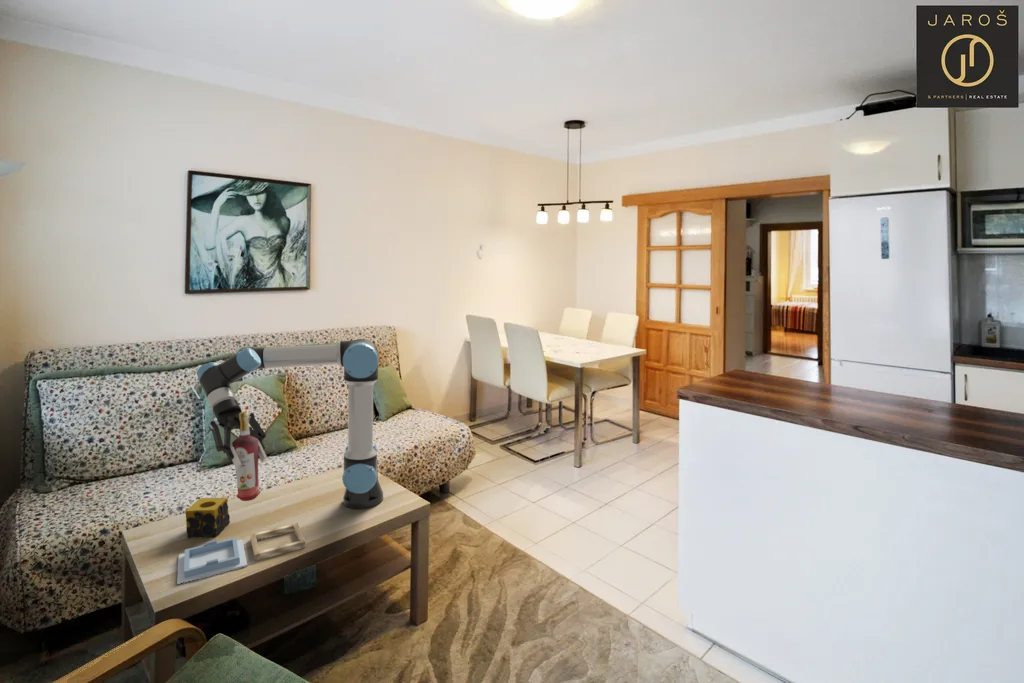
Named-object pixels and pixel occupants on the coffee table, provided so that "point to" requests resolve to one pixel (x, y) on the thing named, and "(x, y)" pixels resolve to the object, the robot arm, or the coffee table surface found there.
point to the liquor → (246, 461)
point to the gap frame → (280, 549)
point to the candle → (207, 517)
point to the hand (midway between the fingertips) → (251, 462)
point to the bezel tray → (211, 559)
